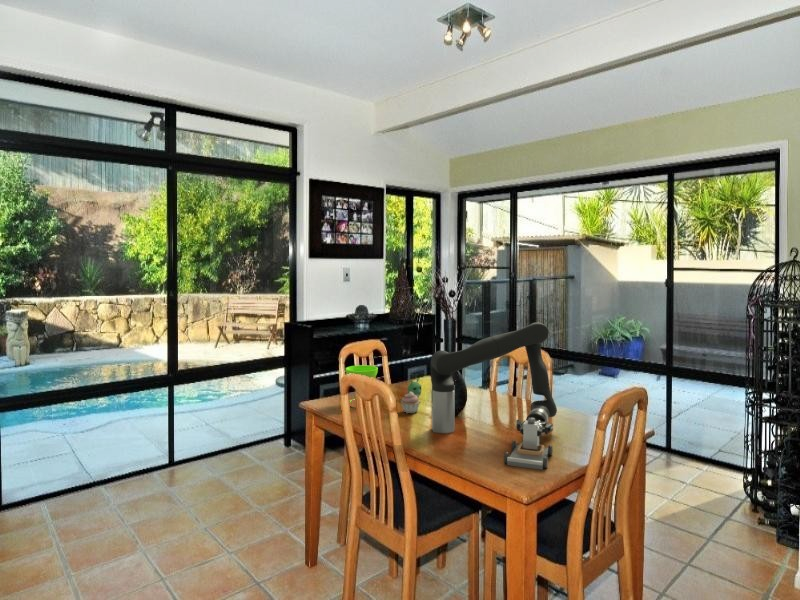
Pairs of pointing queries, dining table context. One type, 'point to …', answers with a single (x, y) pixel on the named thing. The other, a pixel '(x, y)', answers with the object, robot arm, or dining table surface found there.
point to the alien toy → (414, 388)
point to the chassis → (528, 456)
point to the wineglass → (363, 370)
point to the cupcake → (410, 403)
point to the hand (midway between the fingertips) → (530, 432)
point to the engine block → (530, 434)
